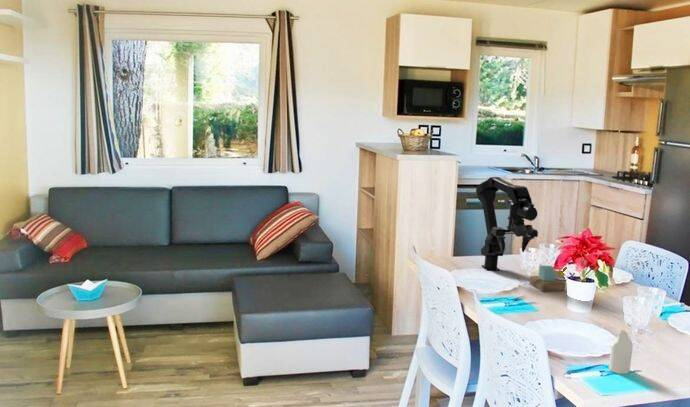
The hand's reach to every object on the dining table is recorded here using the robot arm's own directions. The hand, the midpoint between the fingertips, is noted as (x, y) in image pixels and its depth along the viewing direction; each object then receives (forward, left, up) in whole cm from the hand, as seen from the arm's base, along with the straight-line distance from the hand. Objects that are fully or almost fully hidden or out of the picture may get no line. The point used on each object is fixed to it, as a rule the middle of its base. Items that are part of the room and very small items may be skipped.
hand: (512, 251), depth 264 cm
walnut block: (+12, +11, -12) cm, 21 cm away
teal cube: (+12, +11, -8) cm, 18 cm away
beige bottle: (+88, -3, -12) cm, 89 cm away
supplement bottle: (-1, +24, -12) cm, 27 cm away
